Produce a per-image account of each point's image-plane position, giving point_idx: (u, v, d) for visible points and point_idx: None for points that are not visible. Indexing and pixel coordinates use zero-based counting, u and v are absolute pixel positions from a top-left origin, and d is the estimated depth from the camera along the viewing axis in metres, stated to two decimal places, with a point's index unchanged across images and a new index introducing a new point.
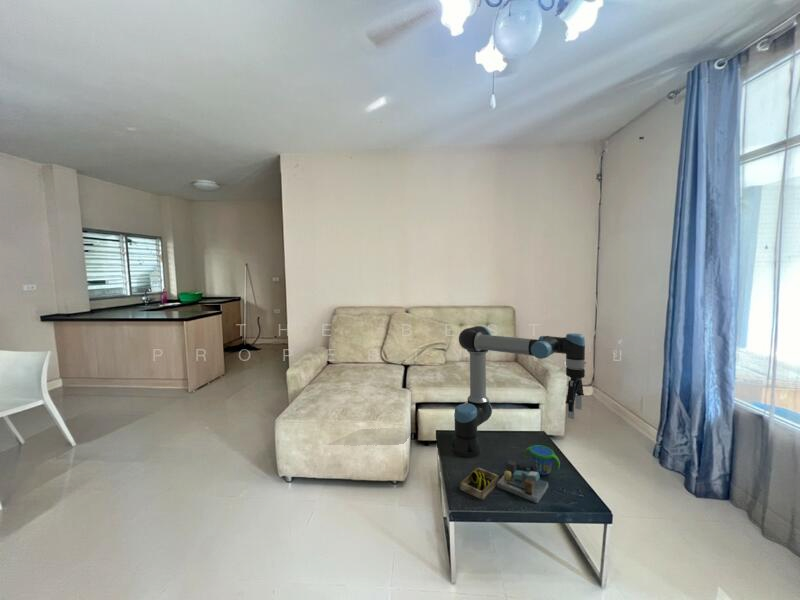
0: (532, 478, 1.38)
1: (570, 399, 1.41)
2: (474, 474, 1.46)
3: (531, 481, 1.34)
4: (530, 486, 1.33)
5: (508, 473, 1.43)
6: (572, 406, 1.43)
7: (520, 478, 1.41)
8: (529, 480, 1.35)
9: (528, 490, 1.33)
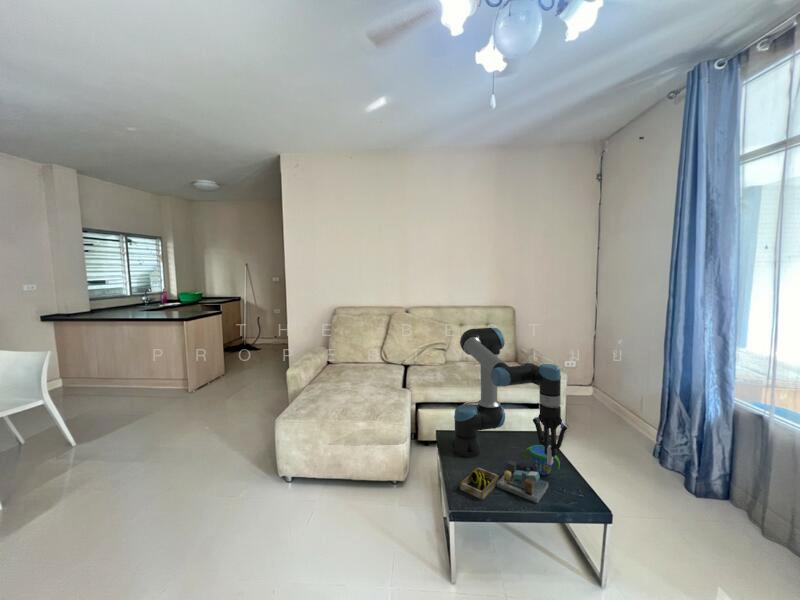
0: (532, 478, 1.38)
1: None
2: (474, 474, 1.46)
3: (531, 481, 1.34)
4: (530, 486, 1.33)
5: (508, 473, 1.43)
6: (546, 448, 1.29)
7: (520, 478, 1.41)
8: (529, 480, 1.35)
9: (528, 490, 1.33)
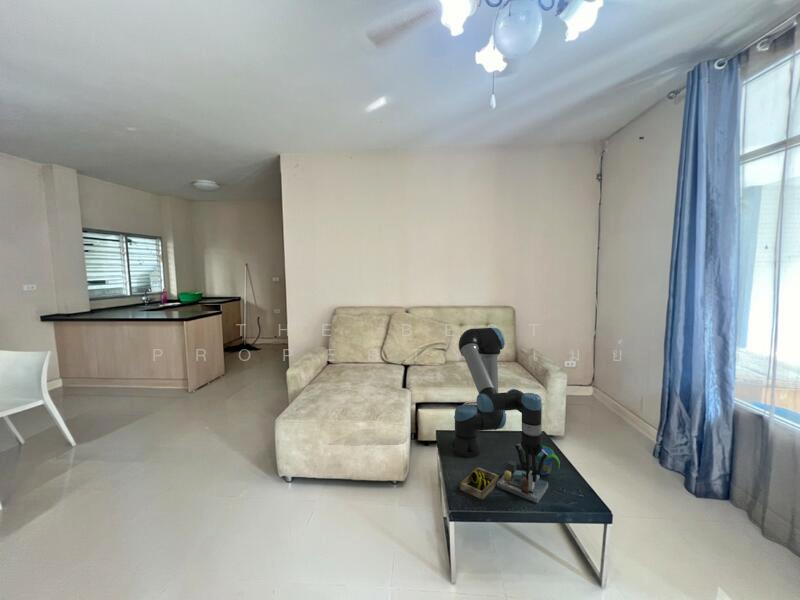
0: None
1: None
2: (474, 474, 1.46)
3: (527, 480, 1.35)
4: (526, 485, 1.34)
5: (508, 473, 1.43)
6: (527, 474, 1.34)
7: (520, 478, 1.41)
8: (525, 479, 1.36)
9: (524, 489, 1.34)
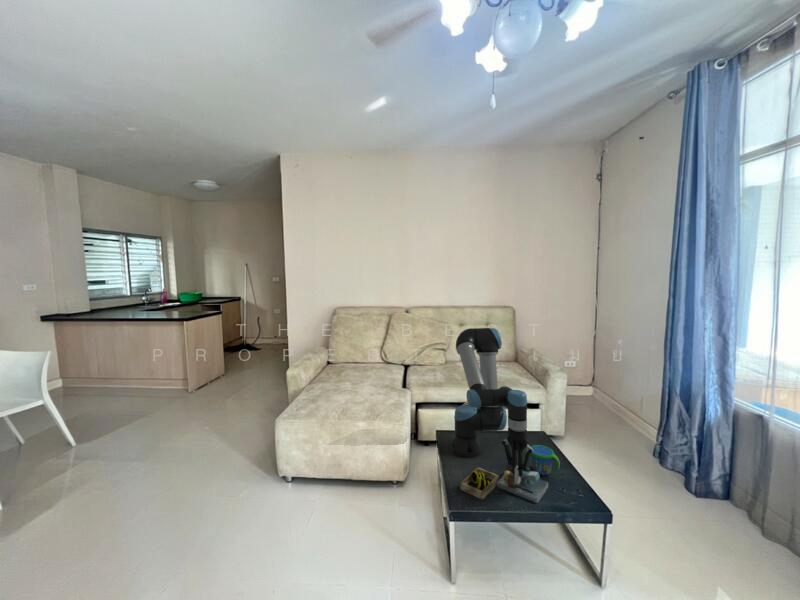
0: (532, 478, 1.38)
1: None
2: (474, 474, 1.46)
3: (514, 475, 1.39)
4: (513, 479, 1.37)
5: (508, 473, 1.43)
6: (513, 468, 1.38)
7: None
8: (512, 474, 1.40)
9: (511, 483, 1.38)
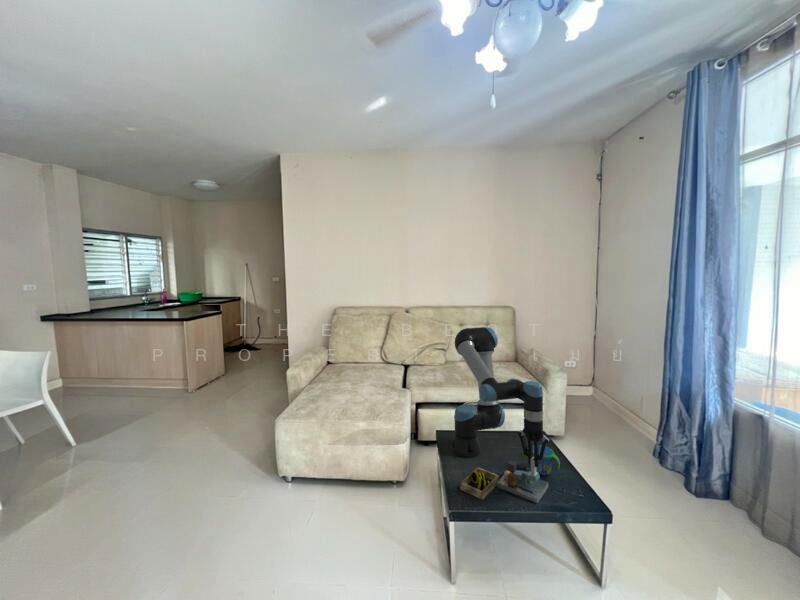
0: (532, 478, 1.38)
1: None
2: (474, 474, 1.46)
3: (514, 475, 1.39)
4: (513, 479, 1.37)
5: (508, 473, 1.43)
6: (529, 459, 1.39)
7: (520, 478, 1.41)
8: (512, 474, 1.40)
9: (511, 483, 1.38)
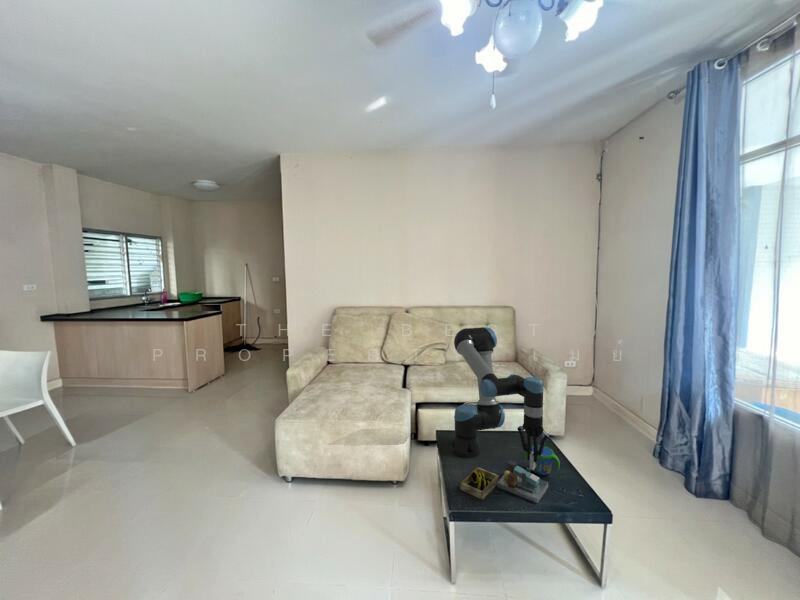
0: (532, 482, 1.38)
1: None
2: (474, 474, 1.46)
3: (514, 475, 1.39)
4: (513, 479, 1.37)
5: (508, 473, 1.43)
6: (528, 454, 1.40)
7: (519, 476, 1.41)
8: (512, 474, 1.40)
9: (511, 483, 1.38)
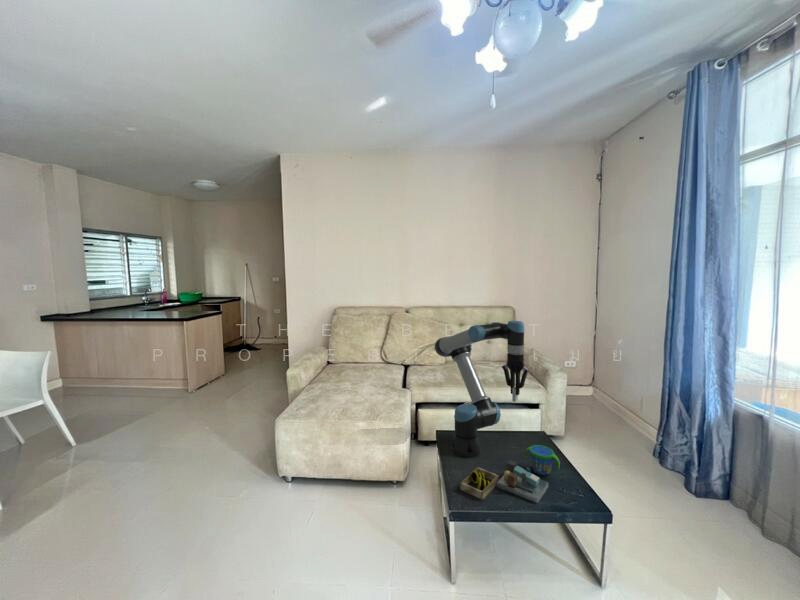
0: (532, 482, 1.38)
1: None
2: (474, 474, 1.46)
3: (514, 475, 1.39)
4: (513, 479, 1.37)
5: (508, 473, 1.43)
6: (511, 389, 1.58)
7: (519, 476, 1.41)
8: (512, 474, 1.40)
9: (511, 483, 1.38)
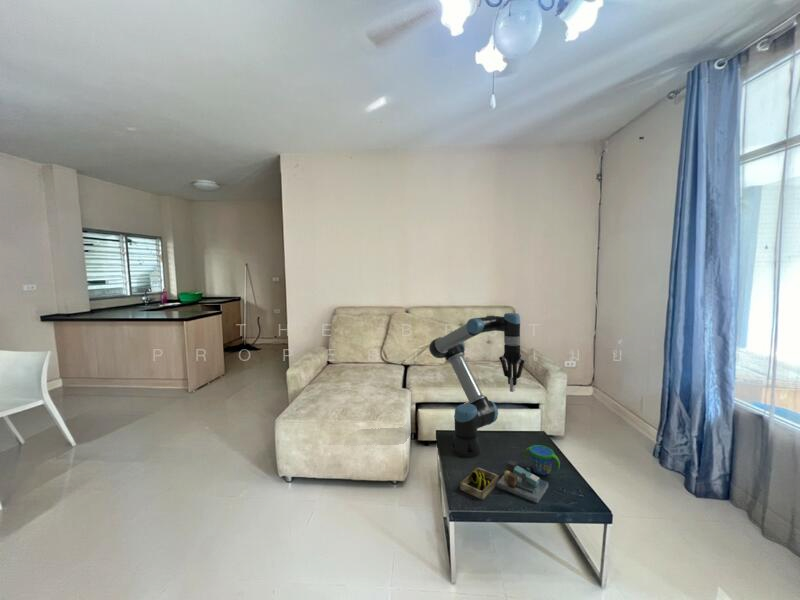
0: (532, 482, 1.38)
1: None
2: (474, 474, 1.46)
3: (514, 475, 1.39)
4: (513, 479, 1.37)
5: (508, 473, 1.43)
6: (509, 379, 1.63)
7: (519, 476, 1.41)
8: (512, 474, 1.40)
9: (511, 483, 1.38)
